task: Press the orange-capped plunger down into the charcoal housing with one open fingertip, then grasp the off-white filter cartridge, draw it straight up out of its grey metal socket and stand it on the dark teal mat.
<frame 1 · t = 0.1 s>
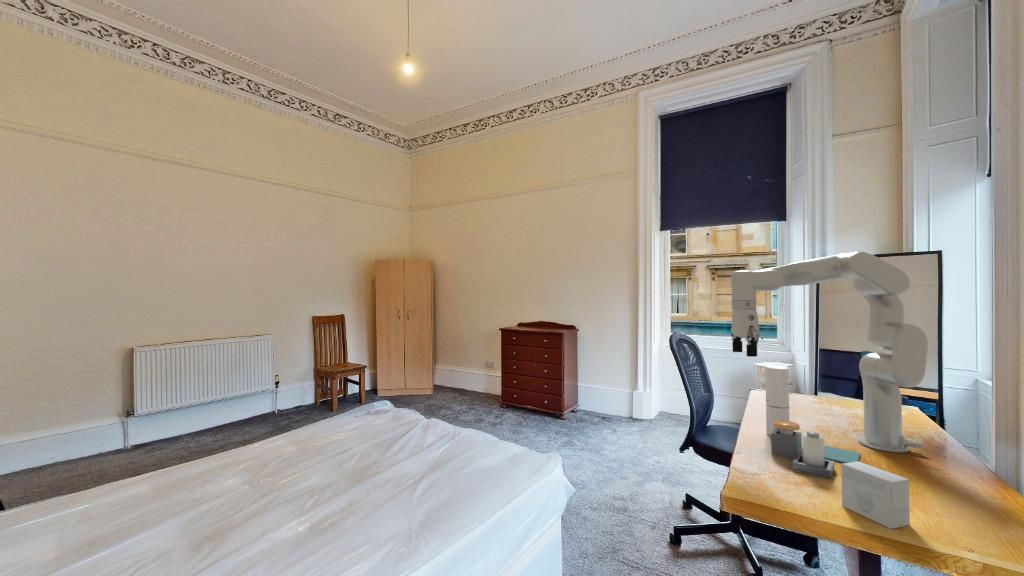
hand: (744, 354, 138), 31 cm above the table, tool pointing down, fingers open, 9 cm apart
skincare box: (874, 515, 93), on the table
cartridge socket: (813, 470, 116), on the table
cylindrical container: (777, 435, 145), on the table
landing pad: (830, 454, 128), on the table
filter cartridge: (813, 451, 116), in the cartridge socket
plunger: (786, 431, 128), point 8 cm above the table, slide at 0.0 cm
plunger housing: (786, 454, 128), on the table
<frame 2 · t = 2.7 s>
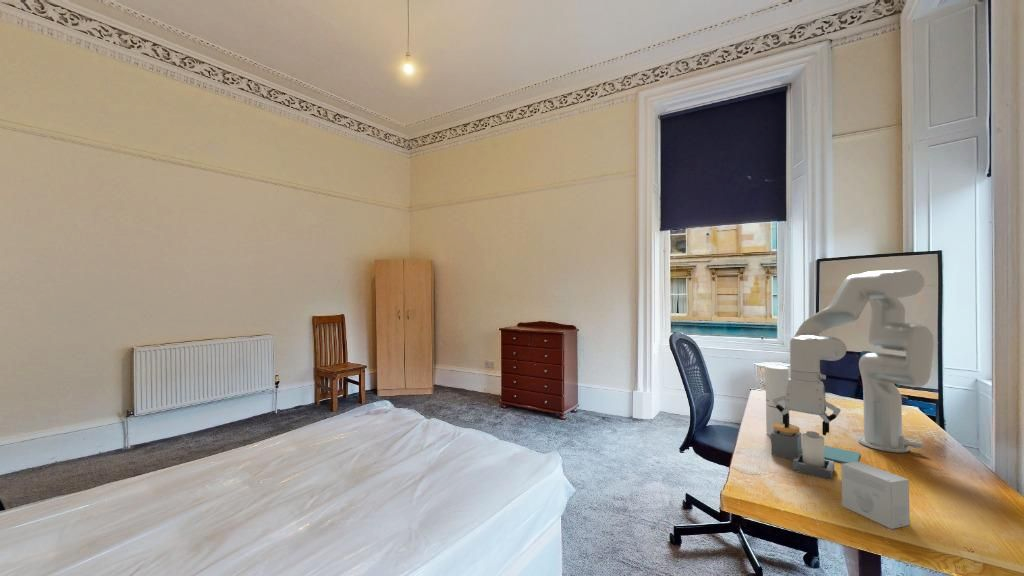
hand: (805, 430, 124), 9 cm above the table, tool pointing down, fingers open, 9 cm apart
plunger: (786, 434, 128), point 7 cm above the table, slide at 0.9 cm, touching gripper
everything else where it was.
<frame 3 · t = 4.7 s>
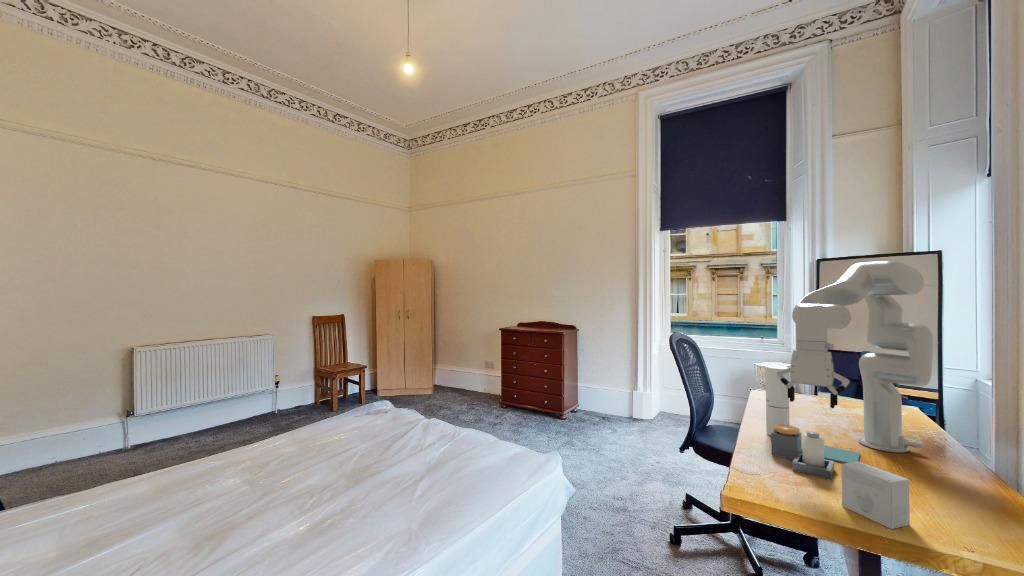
hand: (811, 404, 117), 20 cm above the table, tool pointing down, fingers open, 9 cm apart
plunger: (786, 435, 128), point 6 cm above the table, slide at 1.4 cm
everything else where it was.
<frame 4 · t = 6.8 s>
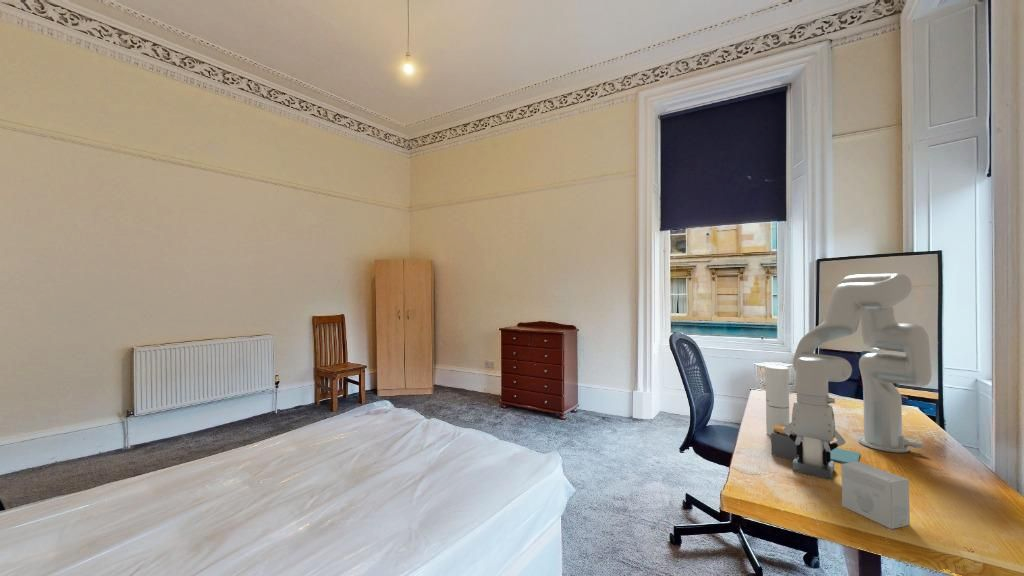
hand: (813, 460, 116), 3 cm above the table, tool pointing down, fingers closed on filter cartridge, 5 cm apart
filter cartridge: (813, 451, 116), in the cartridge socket, touching gripper
everything else where it was.
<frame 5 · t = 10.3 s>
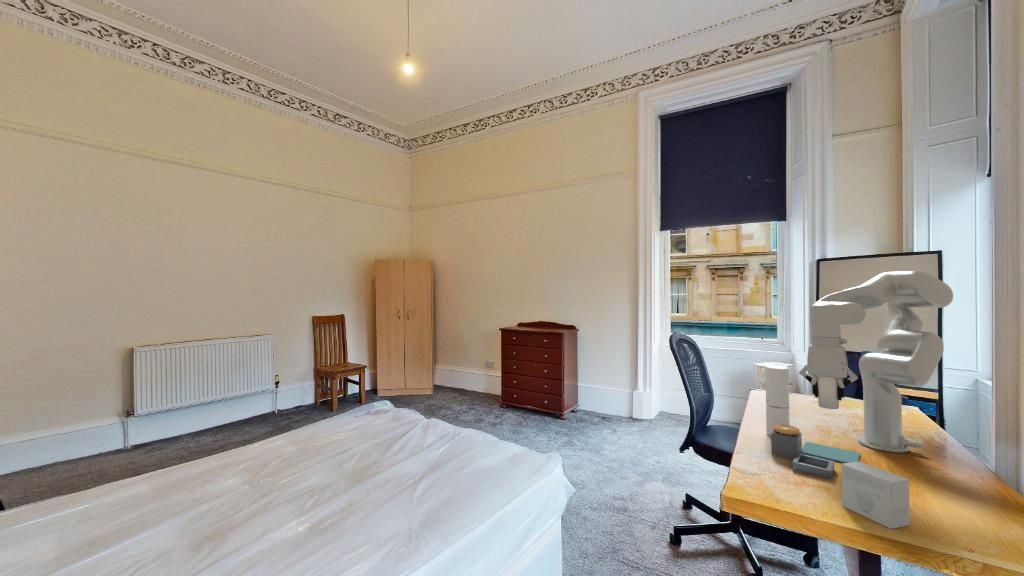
hand: (828, 397, 126), 19 cm above the table, tool pointing down, fingers closed on filter cartridge, 5 cm apart
filter cartridge: (827, 389, 126), point 21 cm above the table, touching gripper
everything else where it was.
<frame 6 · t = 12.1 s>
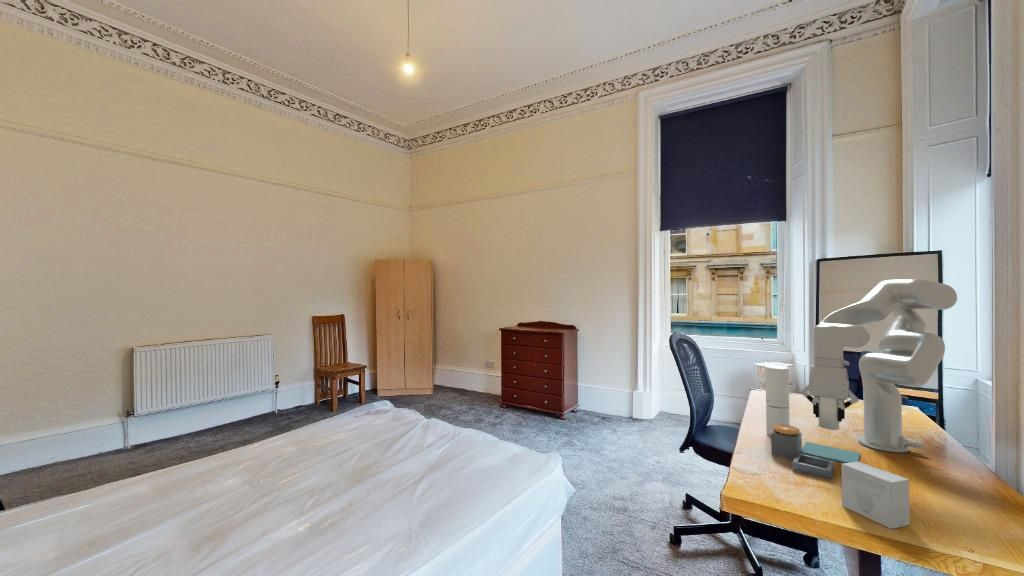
hand: (828, 418, 128), 12 cm above the table, tool pointing down, fingers closed on filter cartridge, 5 cm apart
filter cartridge: (828, 410, 128), point 14 cm above the table, touching gripper
everything else where it was.
when the fingers open (5 cm above the table, at t = 13.7 s): filter cartridge drops 1 cm, resting on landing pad.
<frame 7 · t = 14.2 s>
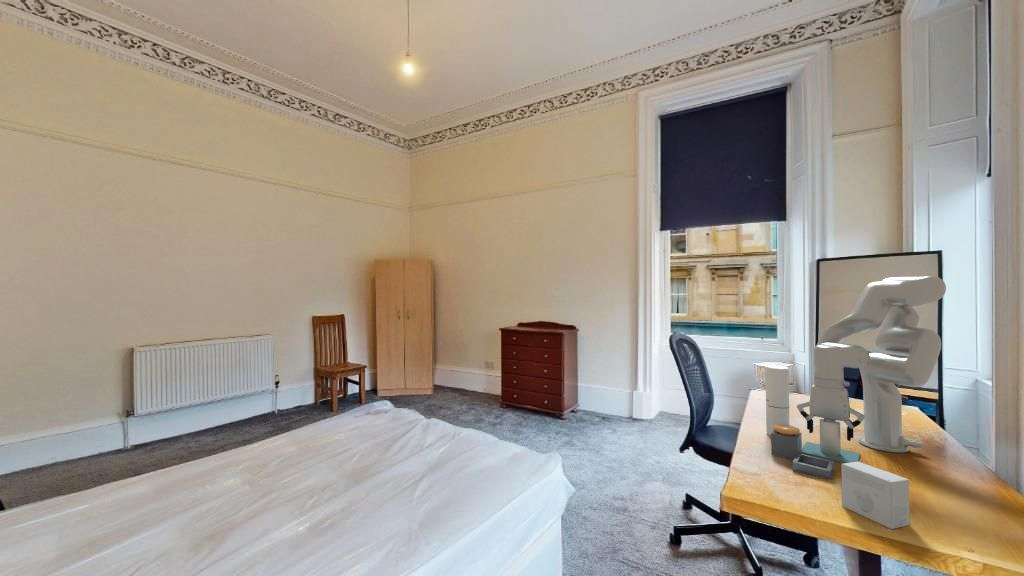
hand: (829, 435, 128), 6 cm above the table, tool pointing down, fingers open, 9 cm apart
filter cartridge: (830, 435, 128), on the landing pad, point 6 cm above the table
everything else where it was.
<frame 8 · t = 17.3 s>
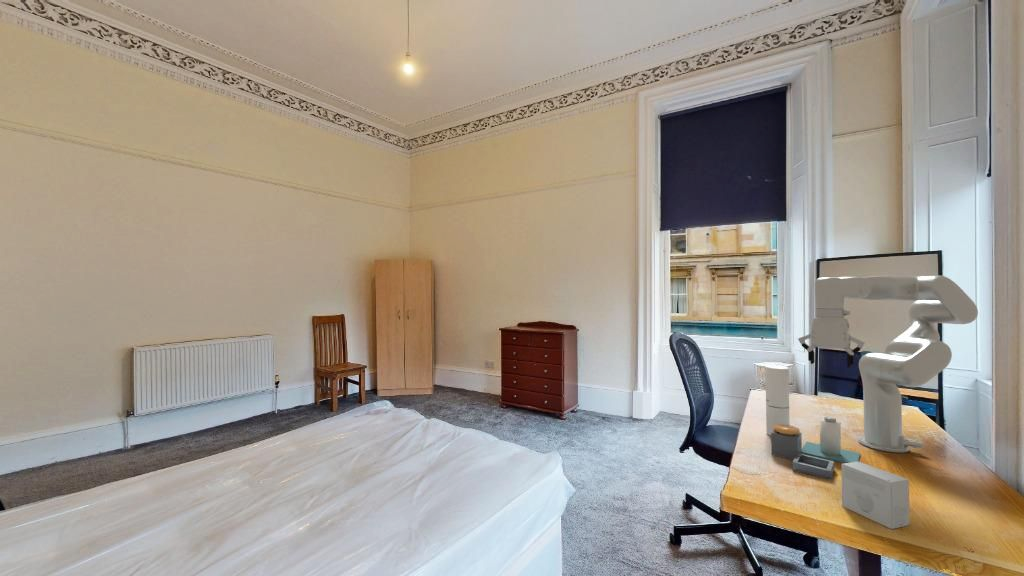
hand: (830, 365, 132), 28 cm above the table, tool pointing down, fingers open, 9 cm apart
nothing on the table moved.
at the end: plunger slide at 1.4 cm; filter cartridge inside the target area on the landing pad (0.1 cm from its centre), point 6.1 cm above the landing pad's base; filter cartridge tilted 1° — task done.
